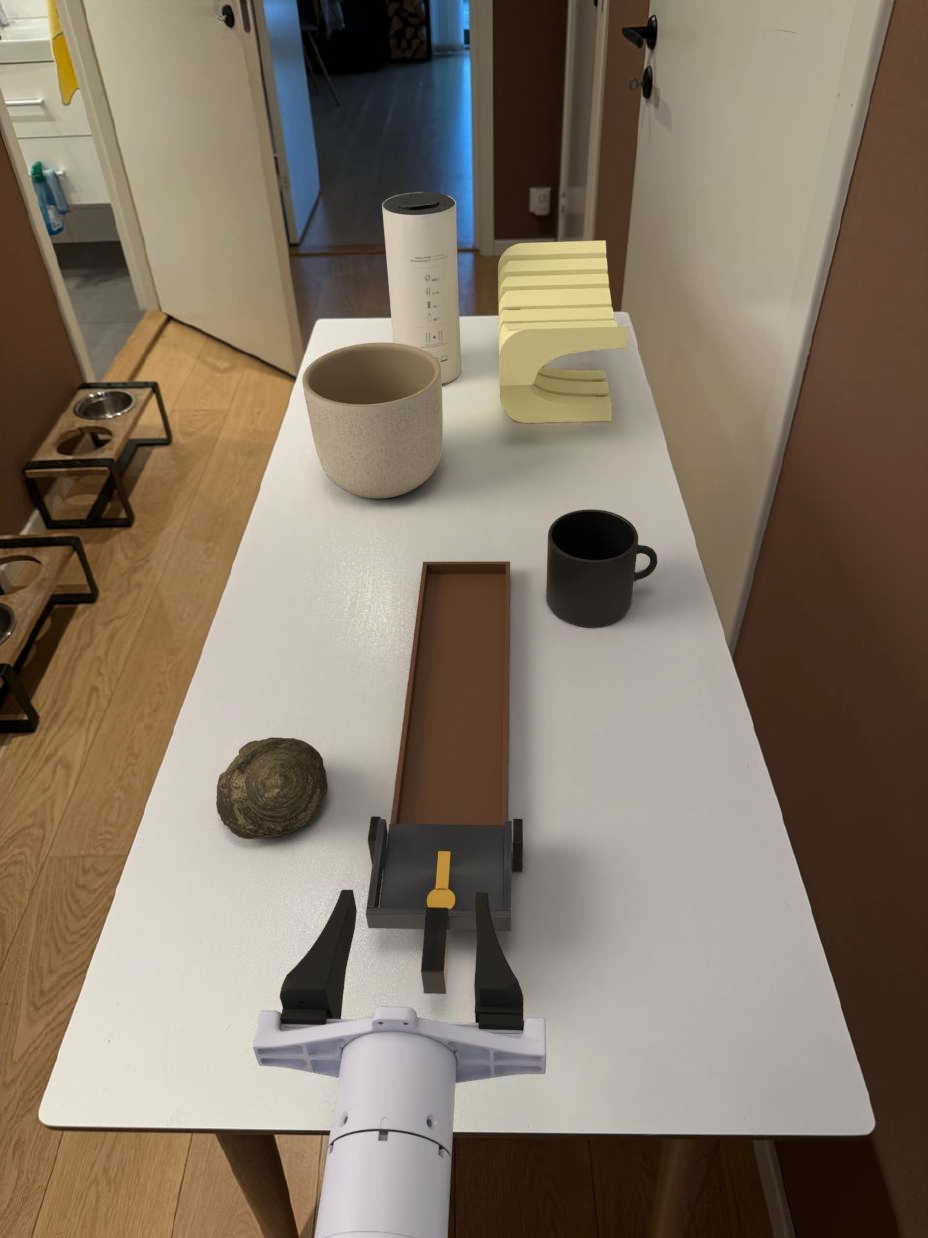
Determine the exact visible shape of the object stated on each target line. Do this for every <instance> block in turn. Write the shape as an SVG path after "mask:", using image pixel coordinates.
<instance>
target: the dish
mask: <svg viewBox="0 0 928 1238" xmlns="http://www.w3.org/2000/svg"><path fill="white" fill-rule="evenodd" d="M438 851H450V852H451V860H450V876H449V890H451V891H452V892H453V894H454V895H455V900H456V903H455V907H454V909H448V908H444V907H428V906H427V897H428V895H429V893H430V892H431V891H432V890H434V889H436V875H437V862H438ZM512 872H513V820H508V821H504V825H451V824H390V823H389V824H387V819H386V818H381V819H379V820H378V827H377V835H376V842H375V849H374V857H373V864H372V863H371V871H370V878H369V879H370V881H369V887H368V893H367V894H368V895H367V902H366V909H365V918H366V923H367V928H368V929H388V930H389V929H390V930H391V929H392V930H394V929H395V930H423V942H422V953H421V966H420V975H421V983H422V990H423V994H427V995H428V994H429V995H431V994H432V995H433V994H434V995H446V994H447V988H448V987H447V986H448V971H449V970H448V969H449V968H448V967H449V953H450V939H451V938H450V937H451V936H450V935H451V931H476V913H475V898H476V892H487V893H488V900H489V909H490V914H491V918H492V922H493V926H494V929H495V932H511V931H512V895H513V894H512V890H513V887H512V883H513V881H512V879H513V878H512V875H513V873H512Z"/></svg>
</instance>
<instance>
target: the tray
mask: <svg viewBox="0 0 928 1238" xmlns="http://www.w3.org/2000/svg"><path fill="white" fill-rule="evenodd" d="M420 575H421V576H420V582H419V591H418V597H417V598H418V600H417V607H416V615H415V623H414V631H413V640H412V647H411V655H410V663H409V670H408V678H407V688H406V694H405V695H406V696H405V703H404V710H403V711H404V712H403V718H402V726H401V735H400V743H399V750H398V758H397V767H396V773H395V774H396V775H395V783H394V790H393V798H392V805H391V807H392V808H391V815H390V823H389V824H451V825H504V821H509V819H508V817H509V738H510V737H509V736H510V735H509V734H510V733H509V727H510V725H509V723H510V722H509V720H510V716H509V715H510V638H511V637H510V633H511V632H510V631H511V626H510V625H511V620H510V619H511V561H510V560H507V561H506V560H505V561H504V560H503V561H502V560H501V561H500V560H499V561H497V560H496V561H495V560H494V561H483V560H481V561H479V560H478V561H477V560H476V561H475V560H474V561H471V560H469V561H422V567H421V574H420Z"/></svg>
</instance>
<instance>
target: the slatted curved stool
mask: <svg viewBox="0 0 928 1238" xmlns="http://www.w3.org/2000/svg"><path fill="white" fill-rule="evenodd" d="M608 268H609V267H608V258H607V241H606V240H579V241H577V240H576V241H574V240H573V241H544V242H520V243H516V244H513V245H511V246H509V247H508V248H507V249H506V250H505V251H504V252H503V253H502V254H501V256H500V258H499V260H498V264H497V286H498V287H497V293H498V294H497V295H498V297H497V300H498V301H497V302H498V360H499V361H498V364H499V365H498V368H499V399H500V403H501V406H502V408H503V409H504V411H505V412H506V414H507V415H508V416H509V417H510V418H511V419H513V420H514V421H517V422H519V423H523V424H540V423H541V424H542V423H544V424H545V423H547V424H548V423H582V422H583V423H586V422H587V423H589V422H613V404H612V403H613V402H612V399H611V396H610V395H611V394H610V388H609V384H608V381H607V373H606V370H605V369H565V368H564V369H563V368H554V367H549V366H545V365H546V364H547V363H549V362H551V361H552V360H555V359H557V358H560V357H563V356H567V355H570V354H576V353H577V354H578V353H583V352H591V351H601V350H613V349H627V348H628V337H629V326H620V325H619V324H618V322H617V320H616V317H615V313H614V308H613V306H612V304H613V302H612V297H611V291H610V279H609V273H608V270H609V269H608Z"/></svg>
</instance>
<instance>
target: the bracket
mask: <svg viewBox="0 0 928 1238" xmlns="http://www.w3.org/2000/svg"><path fill="white" fill-rule="evenodd" d="M379 819H382V818H381V816H378V815H377V816H375V815H373V816H370V822H369V826H368V827H369V828H368V833H367V834H368V835H367V844H368V851H369V856H370V861H371V865H372V864H373V857H374V849H375V842H376V835H377V827H378V820H379ZM523 858H524V819H523V818H517V817H516V818H515V817H514V818H513V819H512V872H513V873H515V872H516V873H522V872H523V871H524V859H523Z"/></svg>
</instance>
